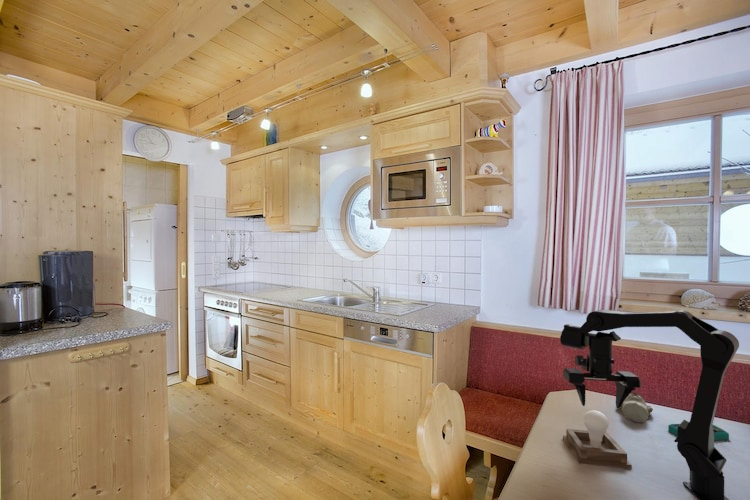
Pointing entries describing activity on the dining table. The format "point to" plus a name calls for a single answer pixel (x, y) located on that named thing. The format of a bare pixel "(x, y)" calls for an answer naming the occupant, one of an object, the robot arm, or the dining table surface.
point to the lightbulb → (595, 427)
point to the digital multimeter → (718, 432)
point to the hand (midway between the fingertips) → (600, 406)
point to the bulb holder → (596, 450)
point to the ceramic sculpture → (635, 408)
